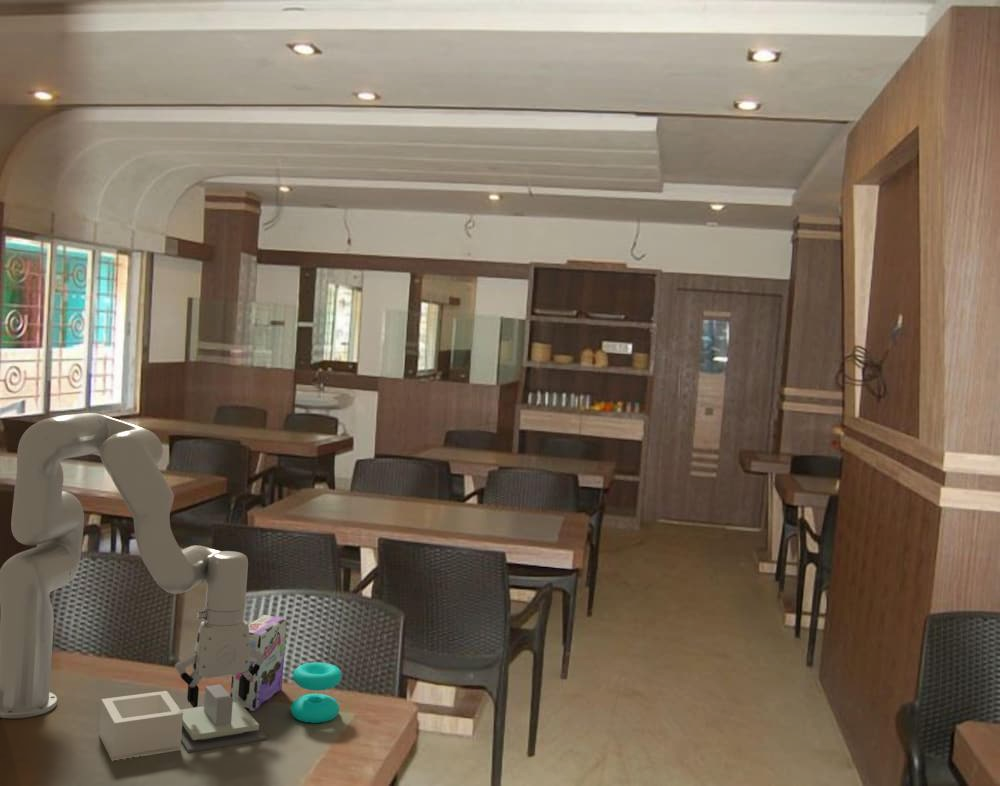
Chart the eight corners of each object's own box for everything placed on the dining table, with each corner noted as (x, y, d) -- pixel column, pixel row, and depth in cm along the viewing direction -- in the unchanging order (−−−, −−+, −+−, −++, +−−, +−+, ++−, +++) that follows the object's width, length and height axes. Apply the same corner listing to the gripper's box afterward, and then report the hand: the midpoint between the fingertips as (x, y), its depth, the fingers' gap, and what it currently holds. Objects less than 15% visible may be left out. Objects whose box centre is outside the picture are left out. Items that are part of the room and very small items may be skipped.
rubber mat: (188, 752, 173) (188, 749, 173) (167, 721, 186) (167, 719, 186) (266, 739, 182) (266, 736, 182) (241, 711, 194) (242, 708, 194)
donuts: (331, 658, 202) (349, 673, 193) (327, 703, 202) (346, 721, 194) (286, 663, 196) (303, 679, 188) (283, 710, 197) (300, 728, 188)
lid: (192, 746, 175) (195, 708, 175) (175, 721, 185) (177, 685, 185) (258, 735, 182) (261, 699, 182) (237, 711, 192) (240, 677, 192)
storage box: (112, 761, 168) (114, 723, 167) (99, 735, 178) (101, 699, 177) (180, 750, 174) (182, 713, 174) (164, 725, 184) (166, 690, 184)
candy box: (254, 712, 194) (260, 634, 193) (228, 707, 195) (234, 630, 195) (282, 689, 208) (288, 616, 207) (258, 685, 209) (263, 613, 208)
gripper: (184, 625, 175) (178, 715, 176) (273, 617, 184) (267, 702, 185) (174, 614, 181) (168, 700, 182) (261, 606, 191) (254, 689, 191)
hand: (218, 701), depth 184 cm, fingers open, 9 cm apart
